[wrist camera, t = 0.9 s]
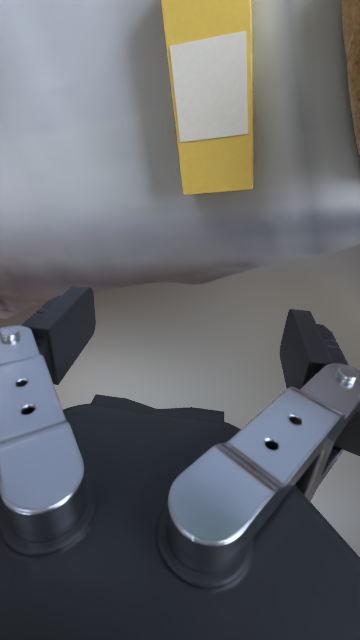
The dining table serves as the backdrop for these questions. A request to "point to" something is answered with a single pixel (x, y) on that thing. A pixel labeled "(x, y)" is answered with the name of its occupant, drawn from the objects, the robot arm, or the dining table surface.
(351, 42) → the stone cup
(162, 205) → the dining table surface
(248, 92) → the packet
